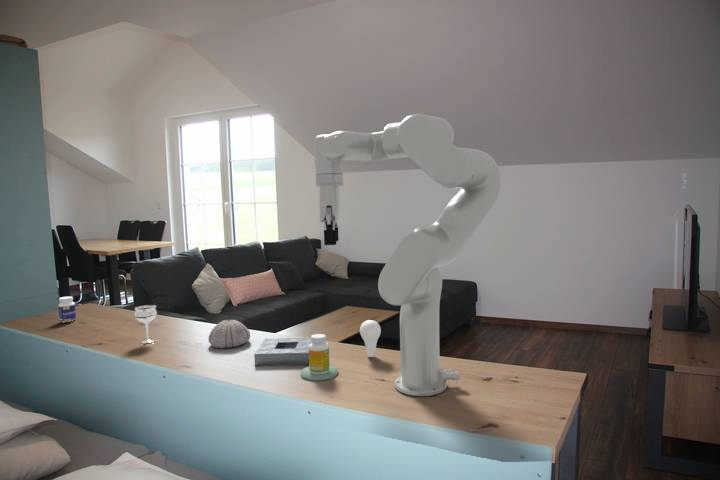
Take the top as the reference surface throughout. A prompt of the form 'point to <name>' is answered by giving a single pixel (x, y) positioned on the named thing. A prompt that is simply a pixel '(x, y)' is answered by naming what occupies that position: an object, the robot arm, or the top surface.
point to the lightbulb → (370, 335)
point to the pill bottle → (66, 309)
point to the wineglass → (146, 316)
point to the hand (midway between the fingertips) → (331, 242)
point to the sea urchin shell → (229, 334)
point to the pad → (319, 377)
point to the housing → (283, 352)
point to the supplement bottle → (319, 354)
